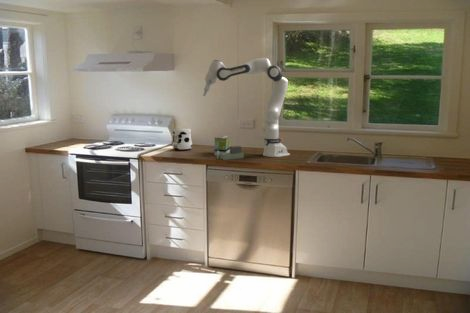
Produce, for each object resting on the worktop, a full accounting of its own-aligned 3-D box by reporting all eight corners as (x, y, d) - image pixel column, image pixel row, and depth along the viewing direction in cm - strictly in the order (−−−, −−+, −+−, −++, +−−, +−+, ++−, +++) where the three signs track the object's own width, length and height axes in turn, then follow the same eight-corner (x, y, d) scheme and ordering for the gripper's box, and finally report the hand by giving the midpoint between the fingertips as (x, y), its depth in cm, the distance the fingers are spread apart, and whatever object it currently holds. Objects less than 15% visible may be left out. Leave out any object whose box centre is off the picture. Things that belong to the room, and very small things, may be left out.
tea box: (226, 156, 368) (226, 138, 365) (214, 155, 370) (214, 137, 367) (230, 152, 382) (230, 135, 379) (218, 152, 384) (218, 135, 381)
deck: (238, 156, 367) (238, 145, 365) (243, 157, 359) (243, 146, 358) (216, 158, 357) (216, 147, 356) (221, 160, 350) (221, 148, 348)
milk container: (193, 148, 407) (192, 128, 403) (191, 151, 390) (191, 130, 386) (173, 148, 406) (173, 128, 403) (171, 151, 389) (170, 130, 386)
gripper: (213, 81, 353) (207, 98, 356) (214, 80, 373) (208, 95, 376) (206, 78, 353) (199, 95, 355) (207, 77, 373) (201, 92, 375)
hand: (204, 95), depth 366 cm, fingers open, 8 cm apart
